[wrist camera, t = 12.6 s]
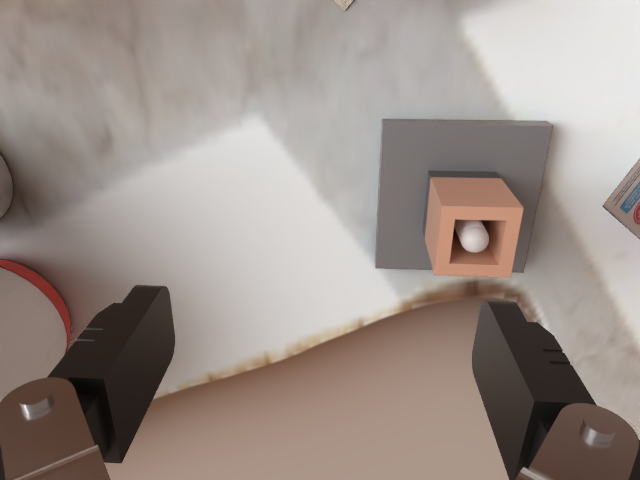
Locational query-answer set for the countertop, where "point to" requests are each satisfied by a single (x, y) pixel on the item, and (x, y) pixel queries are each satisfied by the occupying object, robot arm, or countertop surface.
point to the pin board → (453, 155)
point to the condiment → (343, 3)
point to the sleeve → (470, 204)
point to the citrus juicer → (29, 327)
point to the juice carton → (627, 201)
